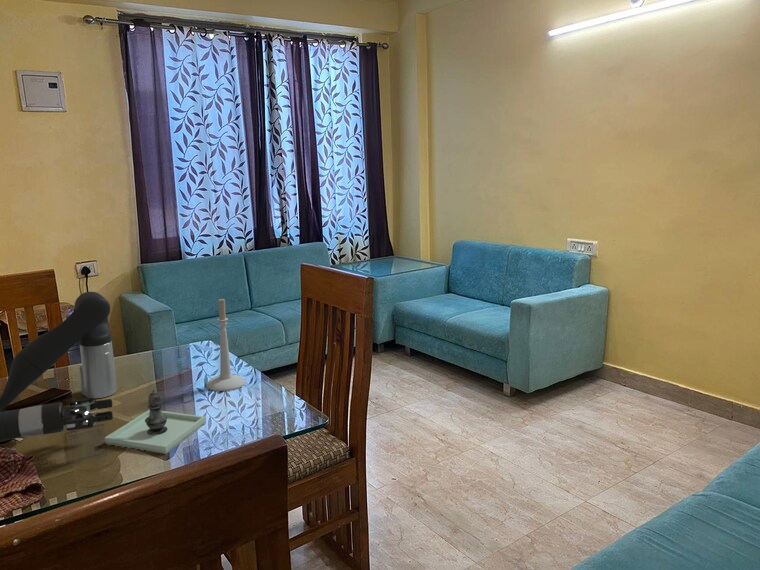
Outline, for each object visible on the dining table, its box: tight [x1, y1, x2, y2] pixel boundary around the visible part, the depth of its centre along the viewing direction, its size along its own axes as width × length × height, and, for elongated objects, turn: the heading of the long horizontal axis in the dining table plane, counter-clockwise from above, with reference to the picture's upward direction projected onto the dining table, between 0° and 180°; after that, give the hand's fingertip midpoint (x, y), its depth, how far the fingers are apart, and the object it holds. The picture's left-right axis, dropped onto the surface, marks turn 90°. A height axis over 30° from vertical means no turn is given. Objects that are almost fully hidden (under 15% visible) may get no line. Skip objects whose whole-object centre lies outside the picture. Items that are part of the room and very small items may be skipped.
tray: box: [104, 409, 207, 455], centre depth 157 cm, size 19×19×2 cm
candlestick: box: [206, 297, 247, 392], centre depth 190 cm, size 13×13×30 cm
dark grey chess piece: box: [145, 389, 168, 435], centre depth 156 cm, size 6×6×12 cm
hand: (112, 408), depth 151 cm, fingers open, 8 cm apart
